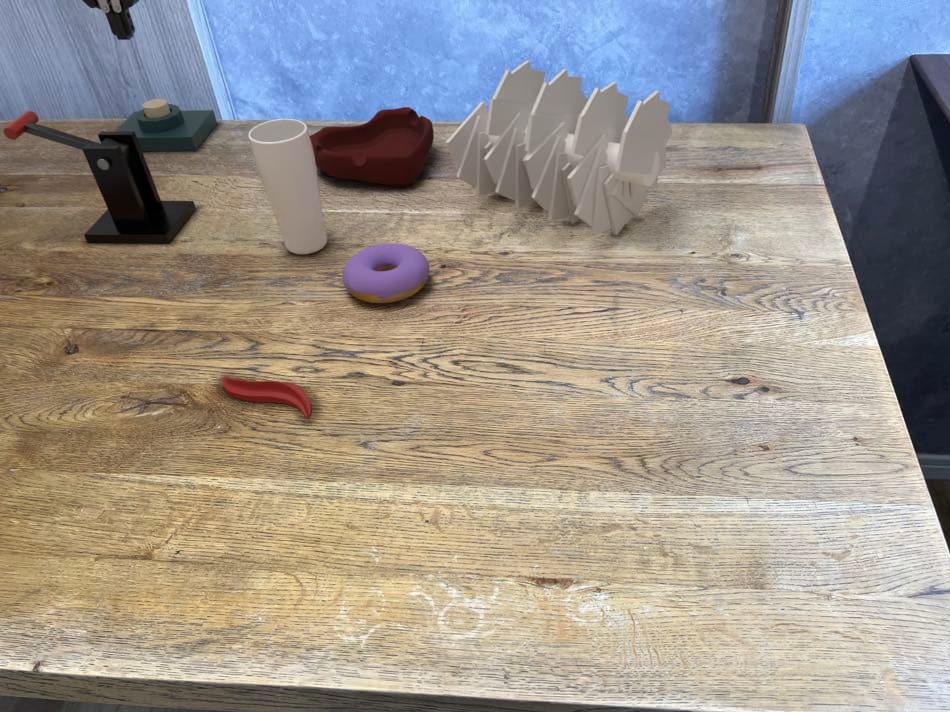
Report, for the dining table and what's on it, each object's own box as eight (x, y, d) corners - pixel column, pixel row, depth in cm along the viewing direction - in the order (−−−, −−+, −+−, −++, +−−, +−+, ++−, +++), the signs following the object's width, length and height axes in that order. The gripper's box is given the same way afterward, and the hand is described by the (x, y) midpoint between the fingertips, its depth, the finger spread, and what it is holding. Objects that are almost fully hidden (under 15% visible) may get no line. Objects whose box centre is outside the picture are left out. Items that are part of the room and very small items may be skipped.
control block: (113, 151, 125) (102, 126, 122) (139, 124, 132) (130, 100, 130) (196, 150, 124) (187, 125, 122) (217, 123, 132) (209, 98, 129)
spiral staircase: (512, 202, 117) (667, 242, 106) (432, 199, 103) (601, 245, 91) (534, 67, 111) (701, 93, 100) (452, 44, 97) (636, 72, 85)
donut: (420, 252, 100) (417, 222, 96) (439, 306, 95) (437, 276, 91) (339, 269, 98) (332, 238, 94) (353, 324, 92) (347, 294, 89)
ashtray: (355, 210, 109) (348, 175, 106) (304, 167, 119) (295, 134, 116) (467, 170, 117) (464, 136, 113) (410, 133, 126) (405, 101, 123)
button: (142, 119, 125) (138, 108, 124) (151, 110, 127) (147, 99, 126) (165, 119, 125) (161, 107, 123) (174, 109, 127) (170, 98, 126)
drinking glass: (336, 254, 101) (309, 138, 91) (280, 263, 100) (247, 147, 90) (332, 227, 106) (306, 114, 96) (279, 236, 105) (246, 122, 95)
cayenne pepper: (326, 406, 80) (321, 391, 79) (288, 432, 77) (284, 418, 76) (250, 361, 86) (245, 346, 84) (213, 384, 83) (207, 369, 82)
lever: (4, 140, 98) (1, 122, 97) (26, 123, 102) (24, 105, 100) (117, 175, 100) (116, 157, 99) (134, 156, 104) (134, 139, 102)
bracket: (87, 242, 105) (47, 156, 97) (118, 208, 112) (83, 124, 104) (169, 243, 104) (135, 156, 96) (196, 208, 111) (166, 124, 103)
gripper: (139, -108, 109) (180, 29, 120) (42, -106, 109) (92, 30, 121) (115, -96, 103) (161, 46, 115) (13, -94, 104) (69, 47, 115)
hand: (125, 38), depth 118 cm, fingers closed
